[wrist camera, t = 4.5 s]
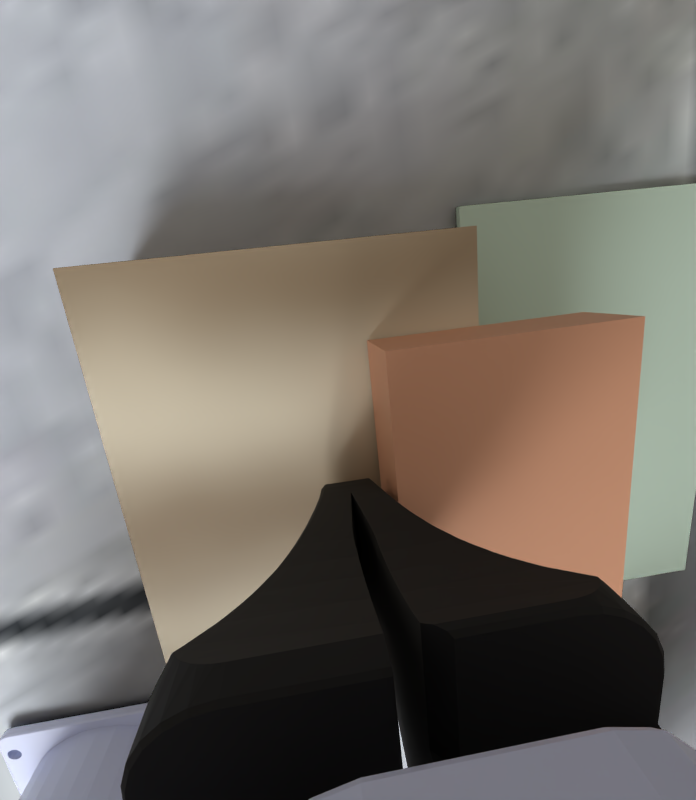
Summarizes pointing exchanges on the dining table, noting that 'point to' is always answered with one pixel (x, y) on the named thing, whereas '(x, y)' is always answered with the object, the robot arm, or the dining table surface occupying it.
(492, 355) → the block
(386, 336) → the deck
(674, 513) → the mat
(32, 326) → the dining table surface
